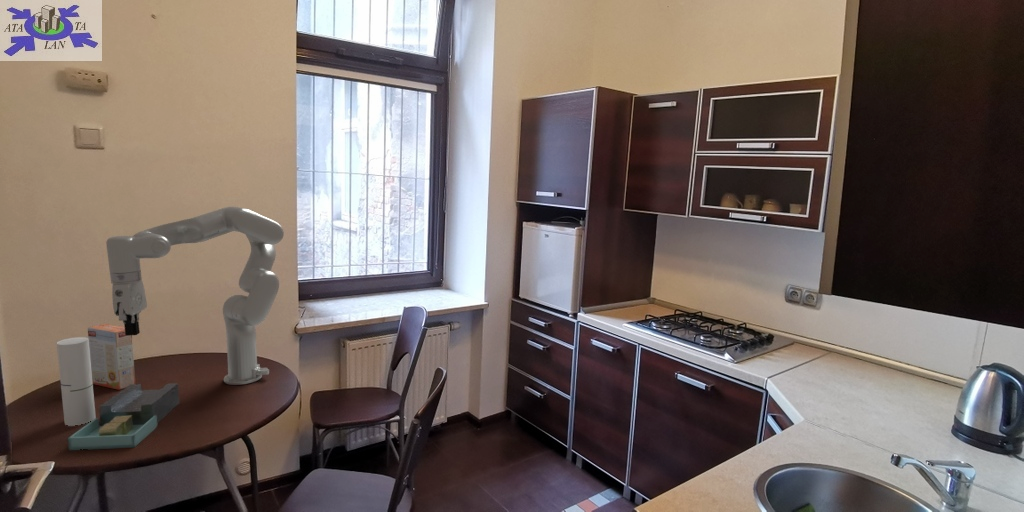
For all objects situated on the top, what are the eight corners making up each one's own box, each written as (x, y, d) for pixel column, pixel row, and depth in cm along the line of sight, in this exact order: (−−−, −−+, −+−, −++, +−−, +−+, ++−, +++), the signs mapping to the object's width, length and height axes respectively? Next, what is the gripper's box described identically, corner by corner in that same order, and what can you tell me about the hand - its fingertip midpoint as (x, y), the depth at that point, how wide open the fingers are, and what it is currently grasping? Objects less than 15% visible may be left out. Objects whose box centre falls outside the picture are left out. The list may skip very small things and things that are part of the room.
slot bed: (179, 403, 167) (178, 383, 166) (153, 426, 151) (152, 404, 150) (132, 404, 165) (130, 384, 164) (101, 428, 149) (99, 406, 148)
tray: (157, 426, 151) (156, 415, 151) (134, 447, 140) (133, 435, 139) (97, 428, 149) (96, 417, 148) (69, 450, 137) (67, 438, 137)
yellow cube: (115, 428, 140) (117, 442, 141) (122, 422, 144) (123, 435, 144) (98, 430, 139) (99, 443, 139) (105, 423, 143) (107, 436, 143)
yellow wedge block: (126, 434, 145) (133, 428, 148) (125, 421, 144) (131, 415, 148) (110, 436, 144) (117, 429, 147) (109, 422, 143) (115, 416, 147)
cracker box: (136, 384, 180) (132, 327, 177) (118, 390, 175) (114, 332, 172) (109, 378, 185) (105, 322, 182) (91, 384, 179) (86, 327, 176)
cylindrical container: (76, 415, 157) (69, 337, 153) (101, 415, 157) (94, 337, 154) (58, 426, 150) (50, 344, 146) (84, 426, 150) (76, 344, 147)
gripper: (126, 281, 148) (133, 342, 151) (151, 271, 162) (157, 326, 165) (97, 282, 146) (105, 343, 150) (125, 272, 161) (131, 327, 164)
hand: (132, 334), depth 157 cm, fingers closed
